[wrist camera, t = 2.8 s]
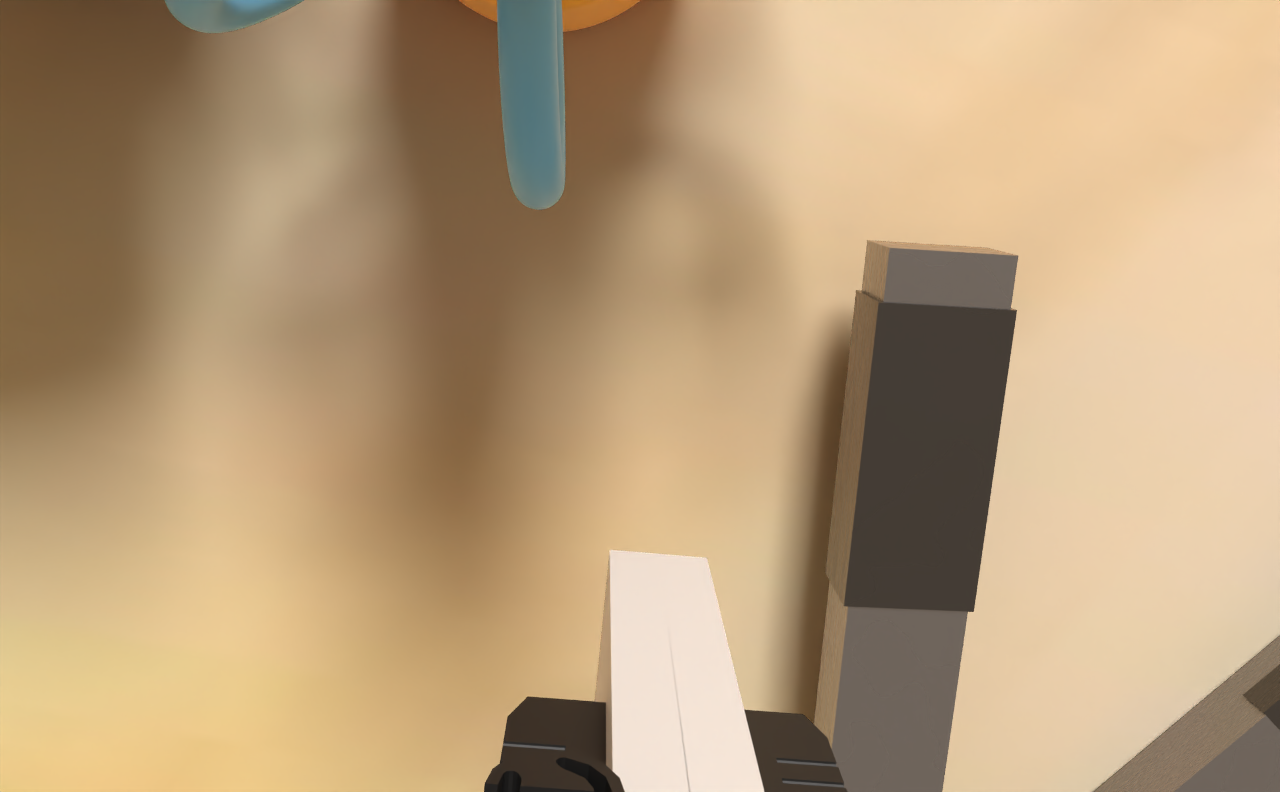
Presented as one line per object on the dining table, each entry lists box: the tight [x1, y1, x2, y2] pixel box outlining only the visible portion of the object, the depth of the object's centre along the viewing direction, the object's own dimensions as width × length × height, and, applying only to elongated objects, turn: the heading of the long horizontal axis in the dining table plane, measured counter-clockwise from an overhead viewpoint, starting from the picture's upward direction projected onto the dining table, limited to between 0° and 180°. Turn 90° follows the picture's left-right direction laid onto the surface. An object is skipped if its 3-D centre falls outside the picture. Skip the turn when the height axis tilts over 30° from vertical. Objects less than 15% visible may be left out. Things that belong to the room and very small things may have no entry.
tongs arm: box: [814, 240, 1018, 792], centre depth 23 cm, size 20×3×2 cm, turn 176°
